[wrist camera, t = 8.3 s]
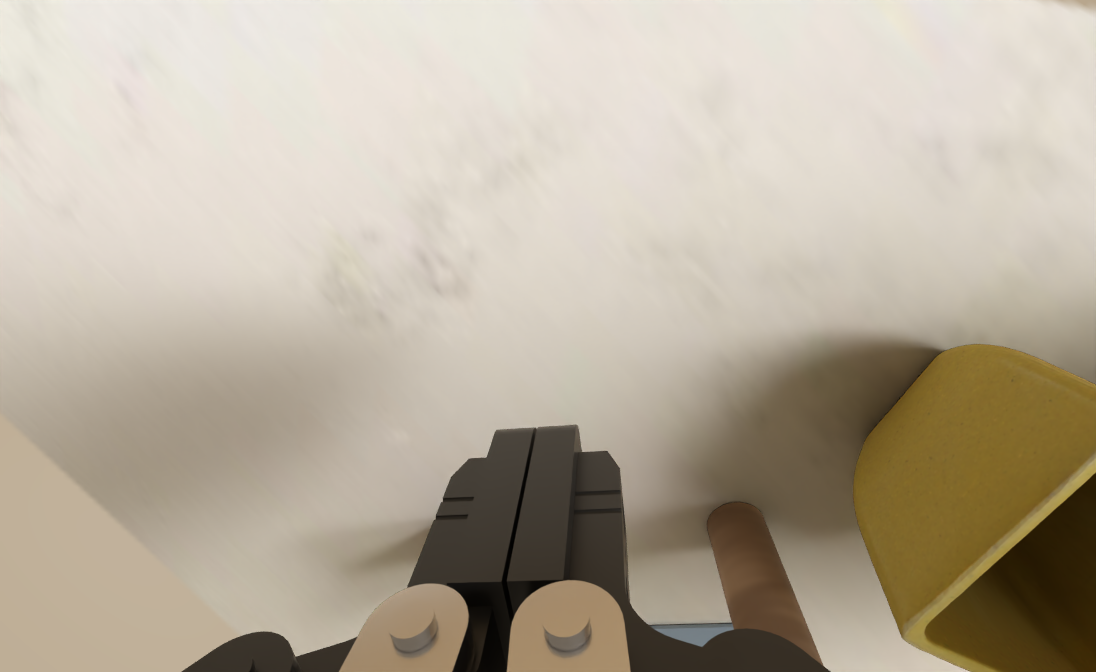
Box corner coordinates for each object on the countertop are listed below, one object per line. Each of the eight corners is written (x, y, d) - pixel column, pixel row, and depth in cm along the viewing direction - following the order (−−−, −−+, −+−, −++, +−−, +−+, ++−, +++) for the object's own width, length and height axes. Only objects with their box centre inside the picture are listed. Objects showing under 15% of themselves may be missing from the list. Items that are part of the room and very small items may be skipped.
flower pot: (792, 456, 24) (896, 644, 16) (930, 284, 21) (1154, 411, 12) (959, 531, 25) (1140, 745, 17) (1118, 378, 22) (1442, 554, 13)
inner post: (765, 500, 25) (849, 699, 17) (763, 544, 26) (842, 752, 18) (706, 503, 25) (761, 700, 17) (707, 546, 26) (759, 752, 18)
